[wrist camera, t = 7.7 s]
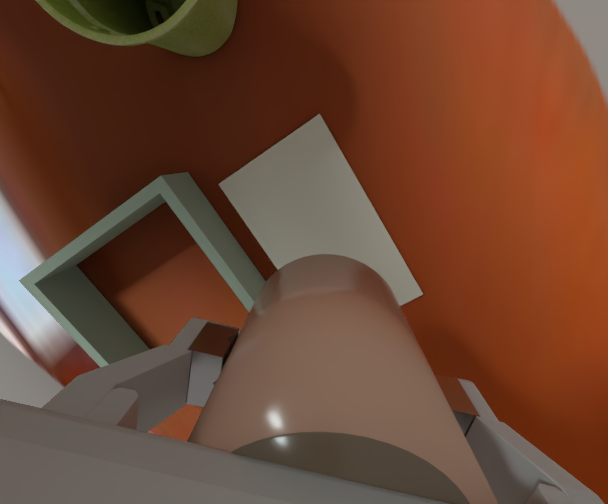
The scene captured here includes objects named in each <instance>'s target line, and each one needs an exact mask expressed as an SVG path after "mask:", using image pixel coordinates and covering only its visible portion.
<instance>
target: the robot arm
mask: <svg viewBox="0 0 608 504" xmlns="http://www.w3.org/2000/svg"><path fill="white" fill-rule="evenodd" d="M238 334H239V328H236V327H232V326H228V325H224V324H220V323H216V322H212V321H208V320H204V319H199V318H195V317H194V318H191V319H190V320H189V322H188V323H187V324H186V325H185V326H184V328H183V329H182V330H181V331H180V332H179V334H178V335H177V336H176V337H175V338H174V340H173V341H172V342H171V343H170V345H169V346H168V345H161V346H159V347H156V348H153V349H150V350H148V351H145V352H142V353H139V354H137V355H134V356H131V357H128V358H126V359H123V360H120V361H117V362H115V363H112V364H109V365H106V366H104V367H101V368H98V369H95V370H93V371H90V372H87V373H84V374H82V375H79V376H77V377H76V378H75V379H74V380H73V381H71V382H70V383H69V384H68V385H67V386H66V387H65V388H64V389H63V390H61V391H60V392H59V393H58V394H57V395H56V396H55V397H53V398H52V399H51V400H50V401H49V402H48V403H47V404H46V405H44V406H43V407H42V408H38V407H33V406H29V405H24V404H20V403H16V402H11V401H7V400H3V399H0V504H451V503H447V502H442V501H438V500H433V499H429V498H425V497H420V496H416V495H412V494H407V493H403V492H399V491H394V490H390V489H385V488H381V487H377V486H372V485H368V484H364V483H359V482H355V481H351V480H346V479H342V478H337V477H333V476H329V475H324V474H320V473H316V472H311V471H307V470H303V469H298V468H294V467H289V466H285V465H281V464H276V463H272V462H267V461H263V460H259V459H254V458H250V457H246V456H241V455H237V454H233V453H232V452H229V451H224V450H220V449H216V448H211V447H207V446H202V445H199V444H195V443H191V442H186V441H182V440H177V439H173V438H169V437H164V436H160V435H156V434H151V433H147V432H148V431H149V430H151V429H152V428H154V427H155V426H157V425H158V424H159V423H161V422H162V421H164V420H165V419H166V418H168V417H169V416H171V415H172V414H174V413H175V412H176V411H178V410H179V409H181V408H182V407H183V406H185V403H186V404H191V405H196V406H201V407H204V406H205V404H206V402H207V400H208V398H209V395H210V393H211V391H212V389H213V387H214V385H215V383H216V381H217V379H218V377H219V375H220V373H221V370H222V368H223V366H224V364H225V362H226V360H227V358H228V356H229V354H230V352H231V350H232V348H233V346H234V343H235V341H236V339H237V337H238ZM434 376H435V378H436V380H437V382H438V384H439V386H440V388H441V390H442V392H443V394H444V396H445V398H446V400H447V402H448V404H449V406H450V408H451V410H452V412H453V414H454V416H455V418H456V420H457V422H458V424H459V426H460V428H461V430H462V432H463V434H464V436H465V438H466V440H467V442H468V444H469V446H470V448H471V450H472V452H473V454H474V456H475V458H476V460H477V462H478V464H479V466H480V468H481V470H482V472H483V474H484V476H485V478H486V480H487V482H488V484H489V486H490V488H491V490H492V492H493V494H494V496H495V498H496V500H497V502H498V504H604V503H603V501H602V500H601V499H600V498H599V496H598V495H597V494H595V493H594V492H593V491H591V490H590V489H589V488H588V487H586V486H585V485H584V484H582V483H581V482H580V481H579V480H577V479H576V478H575V477H573V476H572V475H571V474H569V473H568V472H567V471H566V470H564V469H563V468H562V467H560V466H559V465H558V464H557V463H555V462H554V461H553V460H551V459H550V458H549V457H548V456H546V455H545V454H544V453H542V452H541V451H540V450H539V449H537V448H536V447H535V446H533V445H532V444H531V443H530V442H528V441H527V440H526V439H524V438H523V437H522V436H521V435H519V434H518V433H517V432H515V431H514V430H513V429H512V428H510V427H509V426H508V425H506V424H505V423H503V422H499V421H498V419H497V418H496V416H495V415H494V413H493V412H492V410H491V409H490V407H489V406H488V404H487V403H486V401H485V400H484V398H483V396H482V395H481V393H480V392H479V390H478V389H477V387H476V386H475V384H474V383H473V382H471V381H470V380H465V379H459V378H453V377H448V376H443V375H439V374H434Z"/></svg>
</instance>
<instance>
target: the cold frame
mask: <svg viewBox="0 0 608 504" xmlns="http://www.w3.org/2000/svg"><path fill="white" fill-rule="evenodd" d="M164 202H167V204H168V205H169V206H170V208H171V209H172V210H173V212H174V213H175V214H176V216H177V217H178V218H179V220H180V221H181V222H182V224H183V225H184V226H185V228H186V229H187V230H188V232H189V233H190V234H191V236H192V237H193V238H194V240H195V241H196V242H197V244H198V245H199V246H200V248H201V249H202V250H203V252H204V253H205V254H206V256H207V257H208V258H209V260H210V261H211V262H212V264H213V265H214V266H215V268H216V269H217V270H218V272H219V273H220V274H221V276H222V277H223V278H224V280H225V281H226V282H227V284H228V285H229V286H230V288H231V289H232V290H233V292H234V293H235V294H236V296H237V297H238V298H239V300H240V301H241V302H242V304H243V305H244V306H245V308H246V309H247V310H248V312H250V310H251V308H252V306H253V304H254V302H255V300H256V298H257V296H258V294H259V291H260V290H261V288H262V287H263V285H264V283H265V282H266V281H265V280H264V278H263V277H262V275H261V274H260V273H259V271H258V270H257V268H256V267H255V266H254V264H253V263H252V261H251V260H250V259H249V257H248V256H247V254H246V253H245V252H244V250H243V249H242V247H241V246H240V245H239V243H238V242H237V240H236V239H235V238H234V236H233V235H232V233H231V232H230V231H229V229H228V228H227V226H226V225H225V224H224V222H223V221H222V219H221V218H220V217H219V215H218V214H217V212H216V211H215V210H214V208H213V207H212V205H211V204H210V203H209V201H208V200H207V198H206V197H205V196H204V194H203V193H202V191H201V190H200V189H199V187H198V186H197V184H196V183H195V182H194V180H193V179H192V177H191V176H190V175H189V173H188V172H184V173H176V174H168V175H161V176H159V177H158V178H157V179H155V180H154V181H153V182H151V183H150V184H149V185H147V186H146V187H145V188H143V189H142V190H141V191H139V192H138V193H136V194H135V195H134V196H132V197H131V198H130V199H128V200H127V201H126V202H124V203H123V204H122V205H120V206H119V207H118V208H116V209H115V210H114V211H112V212H111V213H110V214H108V215H107V216H105V217H104V218H103V219H101V220H100V221H99V222H97V223H96V224H95V225H93V226H92V227H91V228H89V229H88V230H87V231H85V232H84V233H83V234H81V235H80V236H79V237H77V238H76V239H74V240H73V241H72V242H70V243H69V244H68V245H66V246H65V247H64V248H62V249H61V250H60V251H58V252H57V253H56V254H54V255H53V256H52V257H50V258H49V259H48V260H46V261H45V262H43V263H42V264H41V265H39V266H38V267H37V268H35V269H34V270H33V271H31V272H30V273H29V274H27V275H26V276H25V277H23V278H22V279H21V280H19V281H20V282H21V283H22V285H23V286H24V287H25V288H26V289H27V290H28V291H29V292H30V293H31V294H32V295H33V296H34V297H35V298H36V299H37V300H38V302H39V303H40V304H41V305H42V306H43V307H44V308H45V309H46V310H47V311H48V312H49V313H50V314H51V315H52V316H53V317H54V318H55V320H56V321H57V322H58V323H59V324H60V325H61V326H62V327H63V328H64V329H65V330H66V331H67V332H68V333H69V334H70V335H71V336H72V338H73V339H74V340H75V341H76V342H77V343H78V344H79V345H80V346H81V347H82V348H83V349H84V350H85V351H86V352H87V353H88V355H89V356H90V357H91V358H92V359H93V360H94V361H95V362H96V363H97V364H98V365H99V366H100V367H104V366H106V365H109V364H112V363H115V362H117V361H120V360H123V359H126V358H128V357H131V356H134V355H137V354H139V353H142V352H145V351H148V350H150V349H149V348H148V346H147V345H146V344H145V343H144V342H143V341H142V340H141V338H140V337H139V336H138V335H137V334H136V333H135V332H134V331H133V329H132V328H131V327H130V326H129V325H128V324H127V323H126V321H125V320H124V319H123V318H122V317H121V316H120V315H119V313H118V312H117V311H116V310H115V309H114V308H113V307H112V305H111V304H110V303H109V302H108V301H107V300H106V299H105V297H104V296H103V295H102V294H101V293H100V292H99V291H98V289H97V288H96V287H95V286H94V285H93V284H92V283H91V281H90V280H89V279H88V278H87V277H86V276H85V275H84V273H83V272H82V271H81V270H80V269H79V268H78V267H77V266H76V265H77V264H79V263H80V262H82V261H83V260H84V259H86V258H87V257H89V256H90V255H91V254H93V253H94V252H96V251H97V250H98V249H100V248H101V247H103V246H104V245H105V244H107V243H108V242H110V241H111V240H112V239H114V238H115V237H117V236H118V235H119V234H121V233H122V232H124V231H125V230H126V229H128V228H129V227H131V226H132V225H133V224H135V223H136V222H138V221H139V220H140V219H142V218H143V217H145V216H146V215H147V214H149V213H150V212H152V211H153V210H154V209H156V208H157V207H159V206H160V205H161V204H163V203H164ZM239 333H240V331H239ZM238 335H239V334H238Z"/></svg>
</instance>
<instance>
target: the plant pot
mask: <svg viewBox="0 0 608 504" xmlns="http://www.w3.org/2000/svg"><path fill="white" fill-rule="evenodd" d="M36 1H37V3H38V4H39V5H40V6H41V7H42V8H43V9H44V10H45V11H46V12H47V13H49V14H50V15H51V16H52V17H53V18H54V19H56V20H57V21H58V22H60V23H61V24H62V25H64V26H65V27H67V28H69V29H70V30H72V31H74V32H76V33H78V34H80V35H82V36H84V37H86V38H89V39H92V40H94V41H97V42H101V43H104V44H109V45H116V46H135V45H141V44H146V43H149V44H152V45H155V46H158V47H161V48H164V49H167V50H170V51H173V52H176V53H179V54H182V55H186V56H193V57H199V56H205V55H208V54H211V53H213V52H214V51H216V50H217V49H219V48H220V47H221V46H222V45H223V44H224V43H225V42H226V40H227V39H228V38H229V36H230V35H231V32H232V30H233V26H234V22H235V18H236V13H237V5H238V0H186V1H185V0H36ZM157 11H158V12H160V14H161V17H162V19H163V21H164V23H162V24H159V23H158V21H157V18H156V12H157Z"/></svg>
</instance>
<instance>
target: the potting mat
mask: <svg viewBox="0 0 608 504" xmlns="http://www.w3.org/2000/svg"><path fill="white" fill-rule="evenodd" d="M218 185H219V186H220V188H221V189H222V191H223V192H224V193H225V195H226V196H227V198H228V199H229V201H230V202H231V204H232V205H233V206H234V208H235V209H236V211H237V212H238V214H239V215H240V216H241V218H242V219H243V221H244V222H245V224H246V225H247V227H248V228H249V229H250V231H251V232H252V234H253V235H254V237H255V238H256V239H257V241H258V242H259V244H260V245H261V247H262V248H263V250H264V251H265V252H266V254H267V255H268V257H269V258H270V260H271V261H272V262H273V264H274V265H275V267H276V268H277V270H278V269H280V268H281V267H283V266H284V265H286V264H288V263H290V262H292V261H294V260H296V259H299V258H302V257H306V256H310V255H318V254H334V255H340V256H345V257H349V258H352V259H355V260H357V261H359V262H362V263H364V264H365V265H367V266H369V267H370V268H372V269H373V270H374V271H376V272H377V273H378V274H379V275H380V276H381V277H382V278H383V279H384V280H385V281H386V282H387V284H388V285H389V286H390V288H391V289H392V291H393V293H394V295H395V297H396V299H397V301H398V303H399V305H400V306H401V305H403V304H405V303H407V302H409V301H411V300H413V299H415V298H417V297H419V296H421V295H423V293H422V291H421V289H420V288H419V286H418V284H417V282H416V281H415V279H414V277H413V275H412V274H411V272H410V270H409V268H408V267H407V265H406V263H405V261H404V260H403V258H402V256H401V254H400V253H399V251H398V249H397V247H396V246H395V244H394V242H393V241H392V239H391V237H390V235H389V234H388V232H387V230H386V228H385V227H384V225H383V223H382V221H381V220H380V218H379V216H378V214H377V213H376V211H375V209H374V207H373V206H372V204H371V202H370V200H369V199H368V197H367V195H366V193H365V192H364V190H363V188H362V186H361V185H360V183H359V181H358V179H357V178H356V176H355V174H354V173H353V171H352V169H351V167H350V166H349V164H348V162H347V160H346V159H345V157H344V155H343V153H342V152H341V150H340V148H339V146H338V145H337V143H336V141H335V139H334V138H333V136H332V134H331V132H330V131H329V129H328V127H327V125H326V124H325V122H324V120H323V118H322V117H321V115H320V114H318V115H317V116H315V117H314V118H313V119H311V120H310V121H308V122H307V123H305V124H304V125H303V126H301V127H300V128H298V129H297V130H295V131H294V132H292V133H291V134H290V135H288V136H287V137H285V138H284V139H282V140H281V141H280V142H278V143H277V144H275V145H274V146H272V147H271V148H269V149H268V150H267V151H265V152H264V153H262V154H261V155H259V156H258V157H257V158H255V159H254V160H252V161H251V162H249V163H248V164H246V165H245V166H244V167H242V168H241V169H239V170H238V171H236V172H235V173H234V174H232V175H231V176H229V177H228V178H226V179H225V180H223V181H222V182H221V183H219V184H218Z"/></svg>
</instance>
